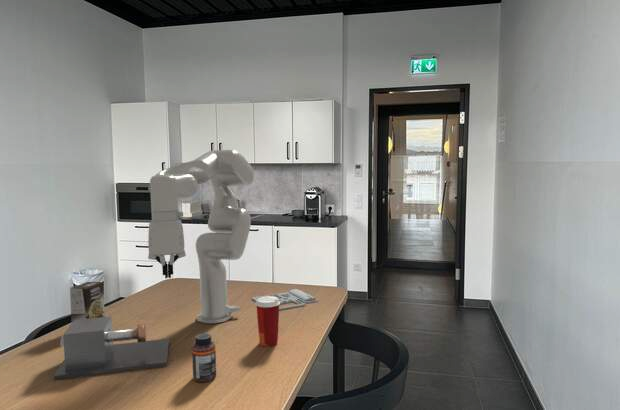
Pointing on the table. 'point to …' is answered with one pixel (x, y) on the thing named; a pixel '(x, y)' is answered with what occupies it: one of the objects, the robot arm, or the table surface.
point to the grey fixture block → (105, 351)
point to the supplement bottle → (204, 358)
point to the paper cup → (268, 320)
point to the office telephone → (292, 298)
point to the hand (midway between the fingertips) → (168, 277)
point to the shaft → (124, 335)
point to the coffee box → (87, 301)
